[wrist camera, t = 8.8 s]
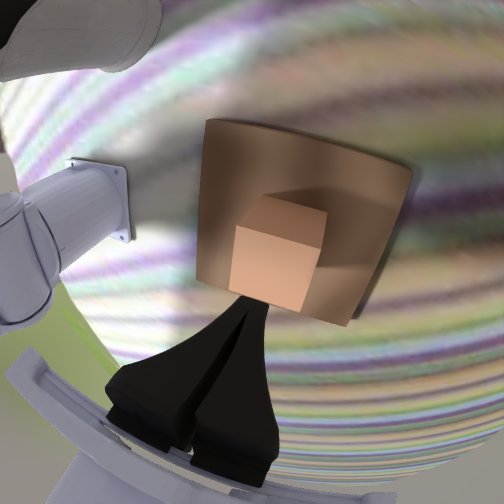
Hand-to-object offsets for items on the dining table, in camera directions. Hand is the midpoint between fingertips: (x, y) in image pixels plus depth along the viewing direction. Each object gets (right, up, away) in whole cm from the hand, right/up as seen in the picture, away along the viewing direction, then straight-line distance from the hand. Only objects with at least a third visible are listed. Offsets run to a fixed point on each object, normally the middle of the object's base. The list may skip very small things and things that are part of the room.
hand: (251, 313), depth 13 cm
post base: (+3, +5, +8) cm, 9 cm away
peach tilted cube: (+3, +4, +7) cm, 8 cm away
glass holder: (-13, +24, +2) cm, 27 cm away
